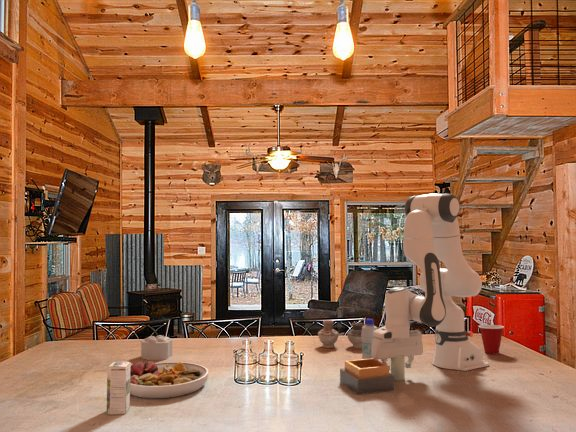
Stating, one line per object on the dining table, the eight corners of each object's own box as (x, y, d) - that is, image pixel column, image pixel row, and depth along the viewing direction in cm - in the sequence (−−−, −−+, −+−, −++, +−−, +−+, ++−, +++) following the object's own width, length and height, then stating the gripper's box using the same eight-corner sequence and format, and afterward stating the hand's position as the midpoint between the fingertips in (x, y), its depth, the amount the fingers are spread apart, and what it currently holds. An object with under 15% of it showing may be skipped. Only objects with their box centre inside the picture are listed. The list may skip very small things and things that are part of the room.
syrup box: (111, 408, 158) (111, 361, 158) (130, 407, 158) (130, 361, 159) (106, 415, 152) (106, 366, 153) (126, 414, 153) (126, 366, 153)
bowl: (222, 379, 189) (222, 358, 189) (180, 406, 160) (180, 381, 161) (153, 372, 199) (153, 351, 199) (102, 396, 170) (102, 372, 170)
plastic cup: (496, 349, 232) (495, 322, 232) (509, 354, 221) (509, 327, 222) (473, 349, 230) (473, 323, 231) (486, 355, 220) (486, 328, 220)
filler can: (400, 376, 191) (399, 346, 191) (407, 380, 186) (407, 349, 186) (388, 377, 189) (388, 347, 189) (395, 381, 184) (395, 351, 184)
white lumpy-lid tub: (165, 360, 215) (165, 339, 215) (136, 359, 216) (136, 339, 217) (174, 354, 225) (174, 334, 225) (146, 353, 227) (146, 334, 227)
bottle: (378, 372, 195) (377, 320, 196) (360, 371, 197) (360, 320, 197) (378, 367, 202) (378, 317, 202) (361, 366, 203) (361, 317, 204)
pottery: (317, 344, 244) (317, 319, 244) (370, 344, 242) (369, 319, 243) (317, 349, 233) (317, 323, 233) (372, 350, 231) (372, 323, 231)
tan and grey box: (374, 378, 188) (374, 356, 188) (394, 390, 174) (394, 366, 175) (340, 382, 183) (340, 360, 183) (357, 394, 170) (357, 370, 170)
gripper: (416, 327, 194) (417, 364, 194) (369, 331, 187) (369, 369, 187) (426, 331, 188) (426, 368, 188) (377, 335, 181) (377, 373, 181)
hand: (397, 368), depth 187 cm, fingers open, 8 cm apart
